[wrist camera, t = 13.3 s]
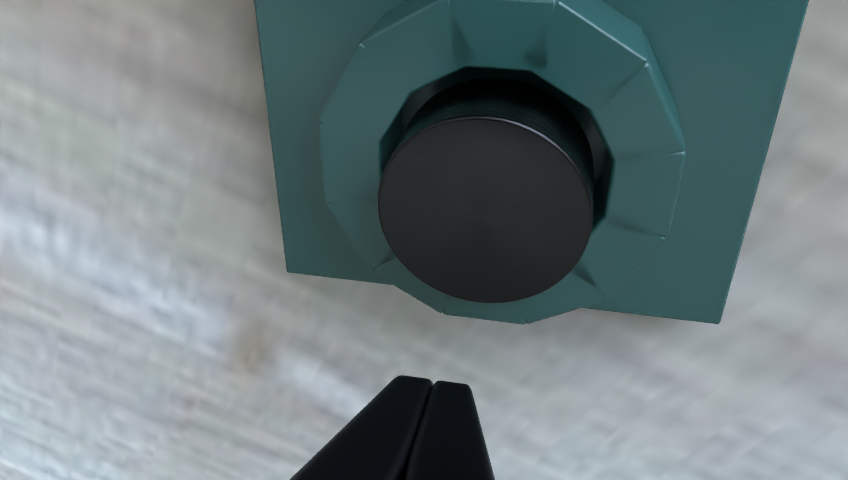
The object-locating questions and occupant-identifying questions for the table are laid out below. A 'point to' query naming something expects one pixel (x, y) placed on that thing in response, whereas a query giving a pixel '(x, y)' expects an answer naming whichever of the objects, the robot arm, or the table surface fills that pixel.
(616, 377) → the table surface
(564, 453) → the table surface
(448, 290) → the button
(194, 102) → the table surface
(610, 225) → the button box
